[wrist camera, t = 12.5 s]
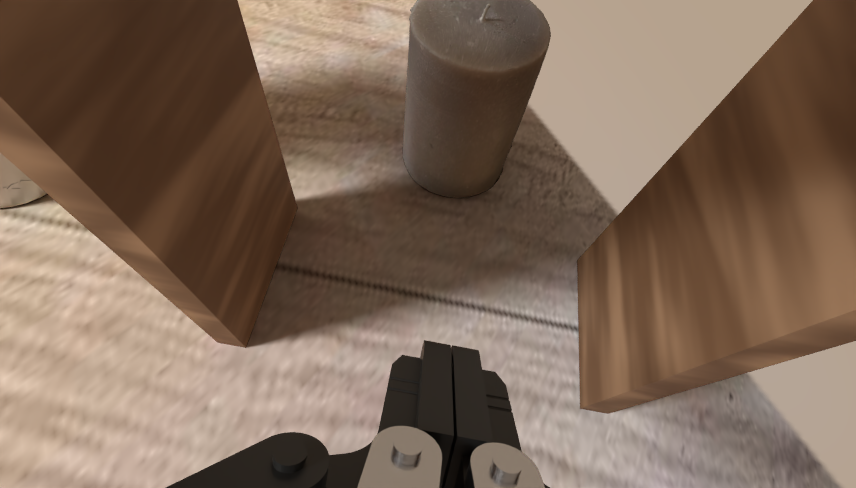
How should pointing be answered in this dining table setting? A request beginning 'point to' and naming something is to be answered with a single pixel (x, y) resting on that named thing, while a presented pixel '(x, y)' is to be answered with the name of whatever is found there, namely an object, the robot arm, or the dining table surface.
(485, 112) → the pillar candle
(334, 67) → the dining table surface
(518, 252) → the dining table surface
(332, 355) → the dining table surface
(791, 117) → the wooden arch gate
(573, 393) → the dining table surface
